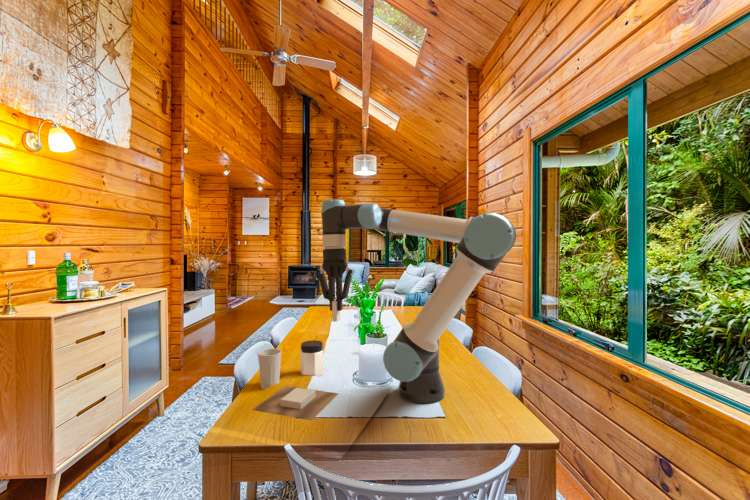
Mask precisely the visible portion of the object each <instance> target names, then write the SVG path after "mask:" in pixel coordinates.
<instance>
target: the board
mask: <svg viewBox="0 0 750 500" xmlns="http://www.w3.org/2000/svg"><path fill="white" fill-rule="evenodd" d="M295 388H298V387H296V386H290V385H285V386H284V387H282V388H281V389H278V391H276V392H274V393H273V394H272V395H271V396H269V397H268V398H266V399H264V401H262V402H260V403H259V404H257V405H256V406H254V407H253V408H251V410H252V411H256V412H262V413H268V414H273V415H278V416H279V415H280V416H284V417H291V418H296V419H301V420H307V421H313V420H314V419H315V418H316V417H317V416H318V415H319V413H321V412H322V411H323V410H324V409H325V408H326V406H328V405H329V404H330V403H331V402H332V401H333V400H334V399H335V398H336V397H337V396H338V395H339V393H338V392H337V393H336V392H330V391H325V390H324V391H323V390H318V389H315V390H316V397H315V398H314V399H312V400H311V401H310V402H309V403H308V404H307V405H305V406H304V407H303V408H302V409H295V408H289V407H283V406H281V405H280V399H282V398H283V397H284V396H286V395H287V394H289V393H290V392H291V391H293V390H294V389H295ZM301 388H302V387H301ZM302 389H305V388H302ZM308 389H309V388H308ZM309 390H312V389H311V388H310V389H309Z"/></svg>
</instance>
